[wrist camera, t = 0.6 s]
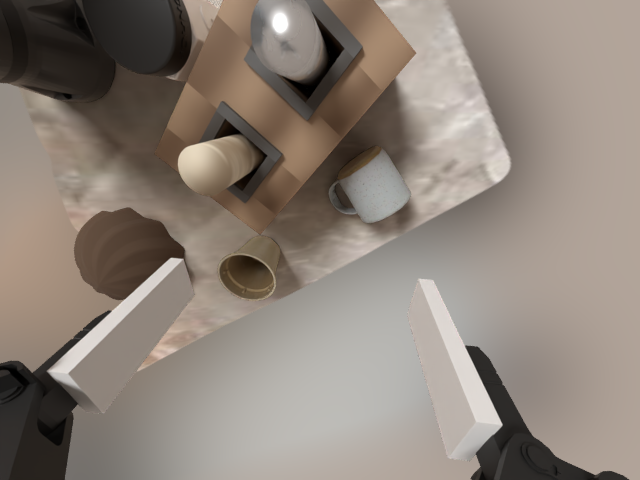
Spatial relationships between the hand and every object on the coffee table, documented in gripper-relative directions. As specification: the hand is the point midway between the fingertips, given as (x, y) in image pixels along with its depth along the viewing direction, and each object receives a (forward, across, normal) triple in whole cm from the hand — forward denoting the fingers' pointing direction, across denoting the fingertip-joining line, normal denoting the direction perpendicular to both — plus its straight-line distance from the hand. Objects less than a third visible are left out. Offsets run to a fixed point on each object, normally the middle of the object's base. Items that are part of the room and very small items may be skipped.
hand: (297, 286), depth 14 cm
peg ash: (+19, -9, +4) cm, 21 cm away
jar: (+27, -16, +14) cm, 35 cm away
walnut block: (+27, -5, +8) cm, 28 cm away
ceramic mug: (+26, +6, -2) cm, 27 cm away
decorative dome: (+27, -37, -19) cm, 50 cm away
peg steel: (+19, -2, +12) cm, 23 cm away
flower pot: (+26, -11, -16) cm, 33 cm away
